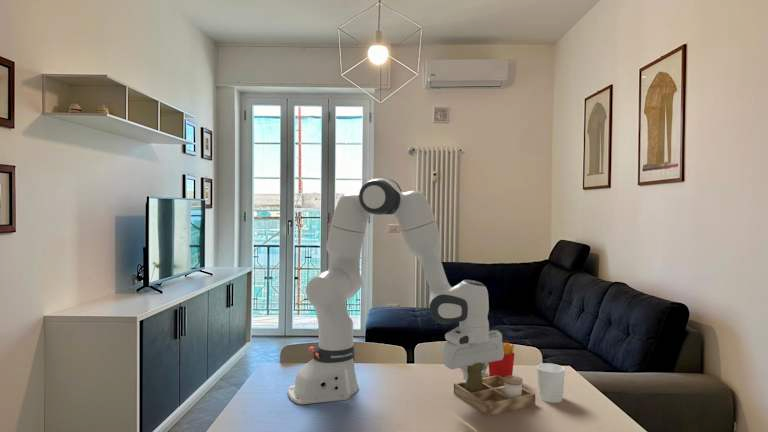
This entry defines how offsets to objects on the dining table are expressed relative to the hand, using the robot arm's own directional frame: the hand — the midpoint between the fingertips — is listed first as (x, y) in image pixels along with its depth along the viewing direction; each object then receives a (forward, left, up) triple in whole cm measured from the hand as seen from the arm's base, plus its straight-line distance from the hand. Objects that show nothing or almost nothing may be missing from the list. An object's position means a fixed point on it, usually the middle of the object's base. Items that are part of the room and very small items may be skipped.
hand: (474, 378), depth 144 cm
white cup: (+20, -11, -7) cm, 24 cm away
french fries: (+16, +8, -7) cm, 19 cm away
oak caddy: (+4, -4, -6) cm, 8 cm away
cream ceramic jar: (+8, -8, -6) cm, 13 cm away
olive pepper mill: (0, 0, -6) cm, 6 cm away
